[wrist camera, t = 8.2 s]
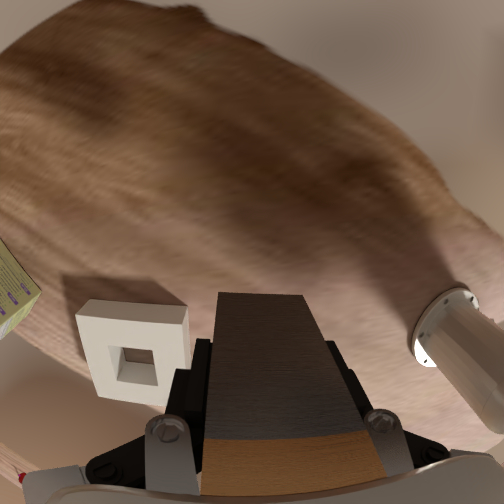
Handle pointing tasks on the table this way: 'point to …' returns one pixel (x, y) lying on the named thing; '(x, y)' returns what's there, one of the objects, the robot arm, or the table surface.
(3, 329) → the box
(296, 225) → the table surface
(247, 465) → the square bit
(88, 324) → the holder block
